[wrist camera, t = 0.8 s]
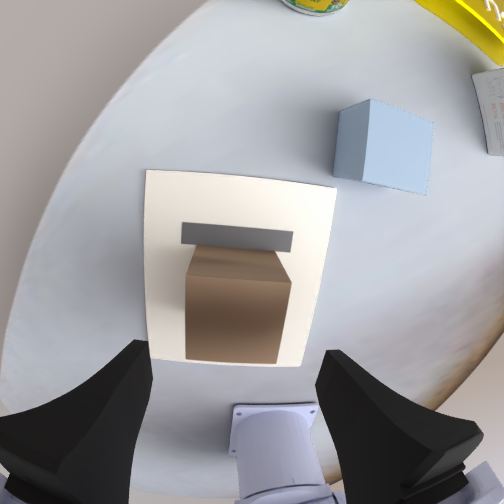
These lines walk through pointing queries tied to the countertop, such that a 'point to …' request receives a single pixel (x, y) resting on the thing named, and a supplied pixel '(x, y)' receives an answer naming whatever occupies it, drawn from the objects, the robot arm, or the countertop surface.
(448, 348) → the countertop surface
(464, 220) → the countertop surface
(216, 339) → the walnut block
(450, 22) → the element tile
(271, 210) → the letter card
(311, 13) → the supplement bottle
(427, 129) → the dusty blue cube
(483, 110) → the small box
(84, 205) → the countertop surface
